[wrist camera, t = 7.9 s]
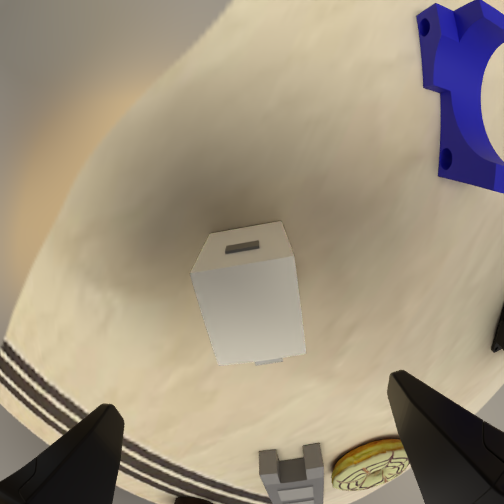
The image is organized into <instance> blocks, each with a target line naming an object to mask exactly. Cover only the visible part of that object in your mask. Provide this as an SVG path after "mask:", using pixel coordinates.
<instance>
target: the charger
mask: <svg viewBox="0 0 504 504" xmlns="http://www.w3.org/2000/svg"><path fill="white" fill-rule="evenodd" d="M190 276H191V279H192V283H193V286H194V290H195V293H196V297H197V300H198V303H199V307H200V310H201V313H202V316H203V320H204V323H205V326H206V329H207V332H208V335H209V338H210V342H211V345H212V348H213V351H214V354H215V357H216V360H217V363H218V365H219V366H223V365H233V364H241V363H249V362H255V365H263V364H270V363H277V362H283V358H284V357H290V356H296V355H302V354H306V346H305V337H304V328H303V320H302V311H301V303H300V295H299V287H298V280H297V272H296V265H295V258H294V254H293V251H292V248H291V246H290V243H289V240H288V238H287V235H286V232H285V229H284V227H283V224H282V221H278V222H272V223H267V224H261V225H255V226H249V227H244V228H238V229H233V230H227V231H222V232H216V233H211V234H209V236H208V238H207V240H206V242H205V244H204V246H203V248H202V250H201V252H200V254H199V256H198V258H197V260H196V262H195V264H194V266H193V268H192V270H191V272H190Z"/></svg>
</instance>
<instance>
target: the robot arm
mask: <svg viewBox="0 0 504 504" xmlns="http://www.w3.org/2000/svg"><path fill="white" fill-rule="evenodd" d="M500 349H503V350H504V307H503V311H502V315H501V319H500V322H499V326H498V329H497V333H496V336H495V339H494V342H493V345H492V349H491V350H492V351H493V352H497V351H499V350H500ZM387 395H388V399H389V402H390V406H391V409H392V413H393V416H394V420H395V423H396V427H397V431H398V434H399V437H400V440H401V442H402V445H403V447H404V450H405V452H406V454H407V457H408V459H409V462H410V465H411V467H412V470H413V472H414V475H415V478H416V480H417V483H418V486H419V488H420V491H421V494H422V496H423V499H424V502H425V504H504V432H502V431H501V430H499V429H497V428H495V427H493V426H492V425H490V424H489V423H487V422H485V421H484V422H483V420H482V419H480V418H479V417H477V416H476V415H474V414H472V413H471V412H469V411H468V410H466V409H464V408H463V407H461V406H460V405H458V404H456V403H455V402H453V401H452V400H450V399H448V398H447V397H445V396H444V395H442V394H441V393H439V392H437V391H436V390H434V389H433V388H431V387H430V386H428V385H426V384H425V383H423V382H422V381H420V380H419V379H417V378H415V377H414V376H412V375H411V374H409V373H408V372H406V371H404V370H399V371H396V372H392V373H391V374H390V377H389V383H388V389H387ZM123 433H124V420H123V418H122V416H121V415H120V413H119V412H118V411H117V409H116V408H115V406H114V405H112V404H101V405H100V406H99V407H97V408H96V409H95V410H94V411H92V412H91V413H90V414H89V415H88V416H86V417H85V418H84V419H83V420H82V421H80V422H79V423H78V424H77V425H75V426H74V427H73V428H72V429H70V430H69V431H68V432H67V433H66V434H64V435H63V436H62V437H61V438H59V439H58V440H57V441H56V442H54V443H53V444H52V445H51V446H49V447H48V448H47V449H46V450H44V451H43V452H42V453H41V454H39V455H38V456H37V457H36V458H34V459H33V460H32V461H31V462H29V463H28V464H26V465H25V466H24V467H22V468H21V469H20V470H18V471H16V472H15V473H13V474H12V475H10V476H9V477H7V478H6V479H4V480H2V481H0V504H112V501H113V496H114V491H115V485H116V480H117V475H118V470H119V465H120V460H121V451H122V441H123Z"/></svg>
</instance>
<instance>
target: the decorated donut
mask: <svg viewBox="0 0 504 504" xmlns="http://www.w3.org/2000/svg"><path fill="white" fill-rule="evenodd" d="M409 464H410V462H409V459H408V457H407V454H406V452H405V450H404V447H403V445H402V442H401V440H398V439H383V440H379V441H373V442H370V443H367V444H366V445H363V446H360V447H358V448H356V449H353V450H351V451H350V452H349V453H347V454H346V455H344V456H343V457H342V458H341V459H339V460H338V462H337V463H336V465H335V467H334V469H333V472H332V477H331V478H332V484H333V487H334V488H336V489H340V490H346V491H357V490H364V489H369V488H371V487H374V486H378V485H381V484H384V483H386V482H388V481H390V480H392V479H394V478H396V477H397V476H399V475H400V474H401V473H402V472H403V471H404V470H405V469H406V468H407V466H408V465H409Z"/></svg>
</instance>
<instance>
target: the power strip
mask: <svg viewBox="0 0 504 504" xmlns="http://www.w3.org/2000/svg"><path fill="white" fill-rule="evenodd" d="M303 452H304V458H300V459H293V460H285V461H279V459H278V456H277V452H276V450H268V451H259V475H260V478H261V480H262V482H263V484H264V486H265V489H266V491H267V493H268V495H269V497H270V499H271V501H272V503H273V504H323V488H324V465H323V460H322V454H321V449H320V443H317V444H311V445H305V446H303Z"/></svg>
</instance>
